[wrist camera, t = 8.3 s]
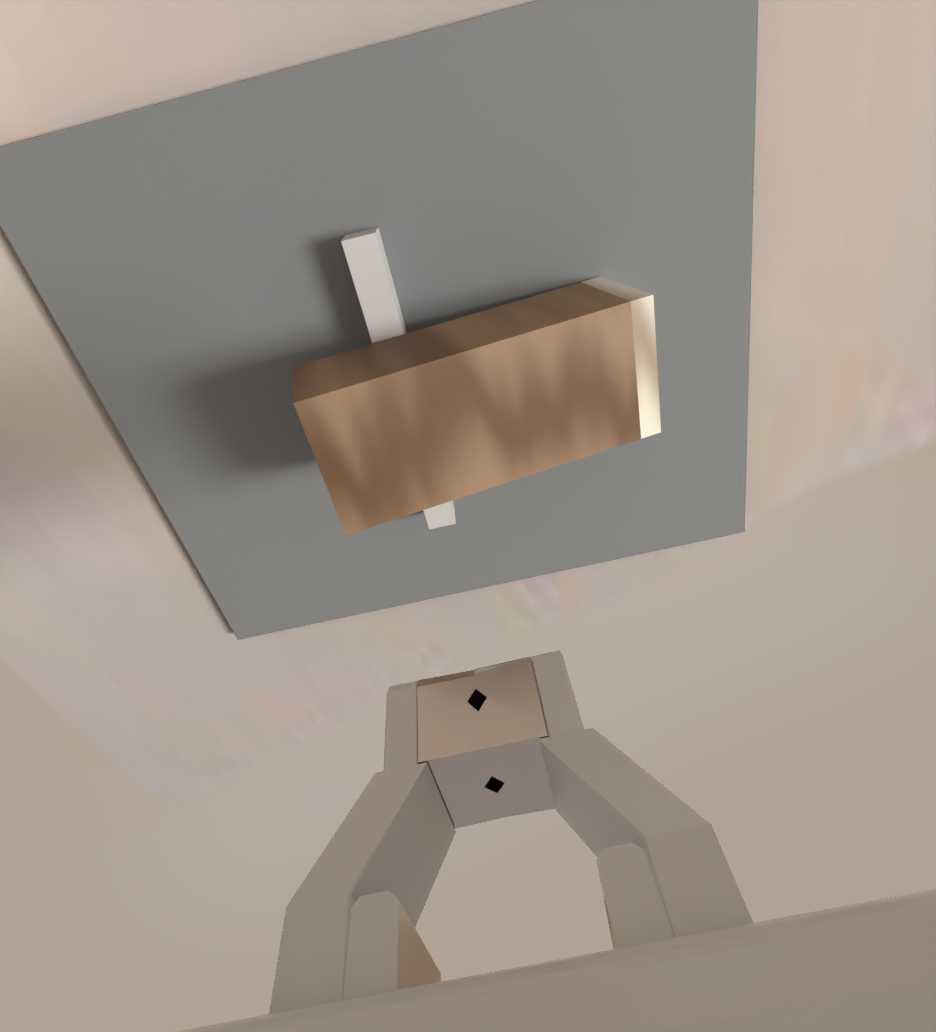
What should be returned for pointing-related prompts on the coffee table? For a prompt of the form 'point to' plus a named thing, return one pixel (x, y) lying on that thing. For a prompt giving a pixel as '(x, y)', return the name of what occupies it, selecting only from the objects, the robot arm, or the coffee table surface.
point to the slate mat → (409, 282)
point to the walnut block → (481, 400)
